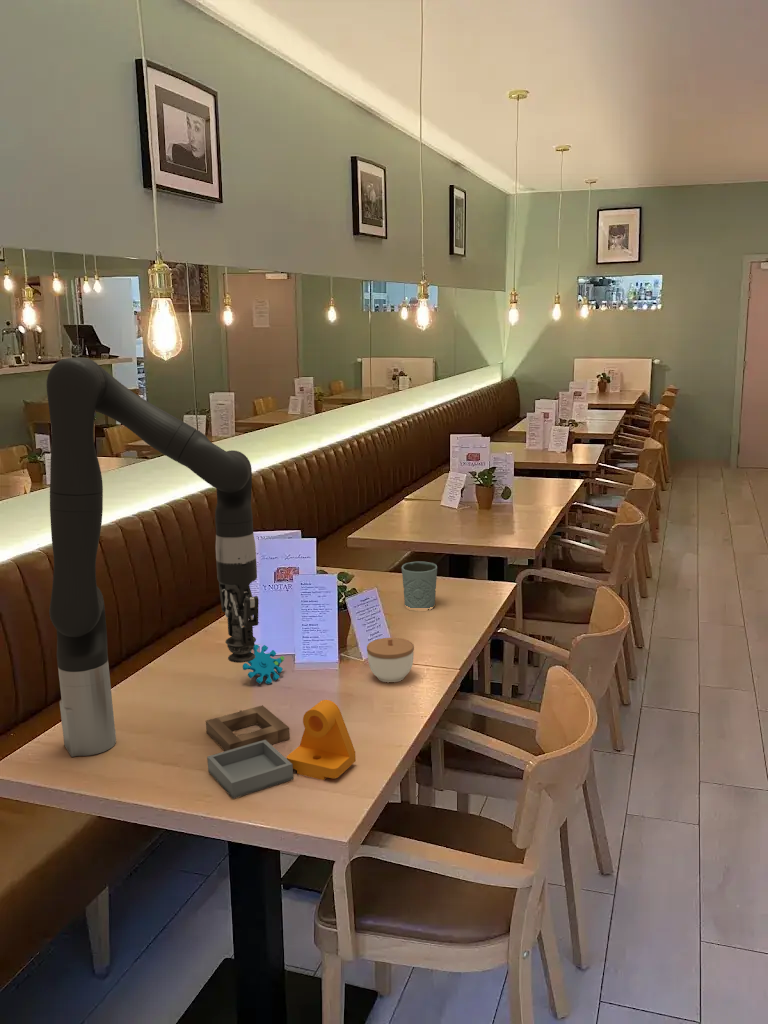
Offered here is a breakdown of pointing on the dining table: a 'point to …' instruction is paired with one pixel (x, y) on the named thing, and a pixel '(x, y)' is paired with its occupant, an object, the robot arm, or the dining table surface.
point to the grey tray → (249, 768)
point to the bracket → (323, 744)
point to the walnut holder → (259, 715)
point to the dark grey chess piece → (238, 643)
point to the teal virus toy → (264, 665)
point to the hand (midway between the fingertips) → (240, 639)
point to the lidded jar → (390, 658)
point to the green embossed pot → (419, 584)
